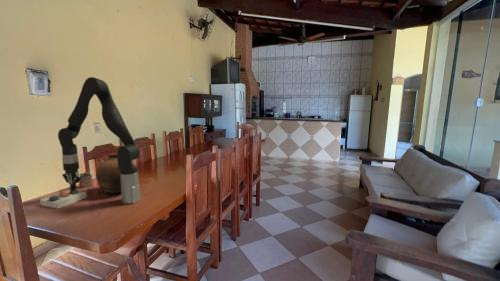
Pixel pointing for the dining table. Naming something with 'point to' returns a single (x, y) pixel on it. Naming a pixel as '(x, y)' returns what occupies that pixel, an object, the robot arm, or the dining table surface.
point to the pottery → (109, 175)
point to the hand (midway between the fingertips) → (73, 189)
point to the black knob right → (73, 192)
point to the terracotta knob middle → (63, 192)
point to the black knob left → (53, 198)
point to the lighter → (85, 180)
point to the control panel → (63, 200)
